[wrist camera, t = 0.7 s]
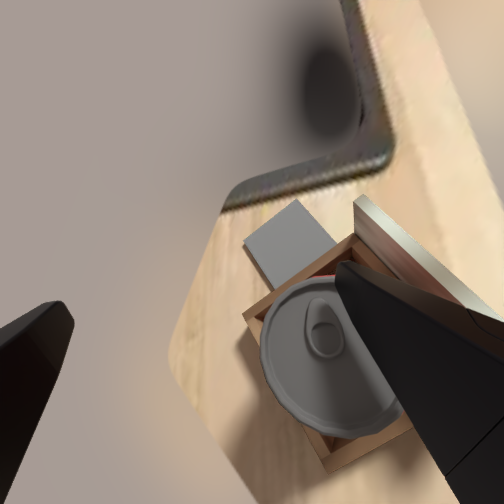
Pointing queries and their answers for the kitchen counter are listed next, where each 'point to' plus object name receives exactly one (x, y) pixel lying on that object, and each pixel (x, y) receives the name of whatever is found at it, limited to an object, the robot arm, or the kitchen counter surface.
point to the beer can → (323, 364)
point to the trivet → (288, 243)
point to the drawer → (391, 264)
